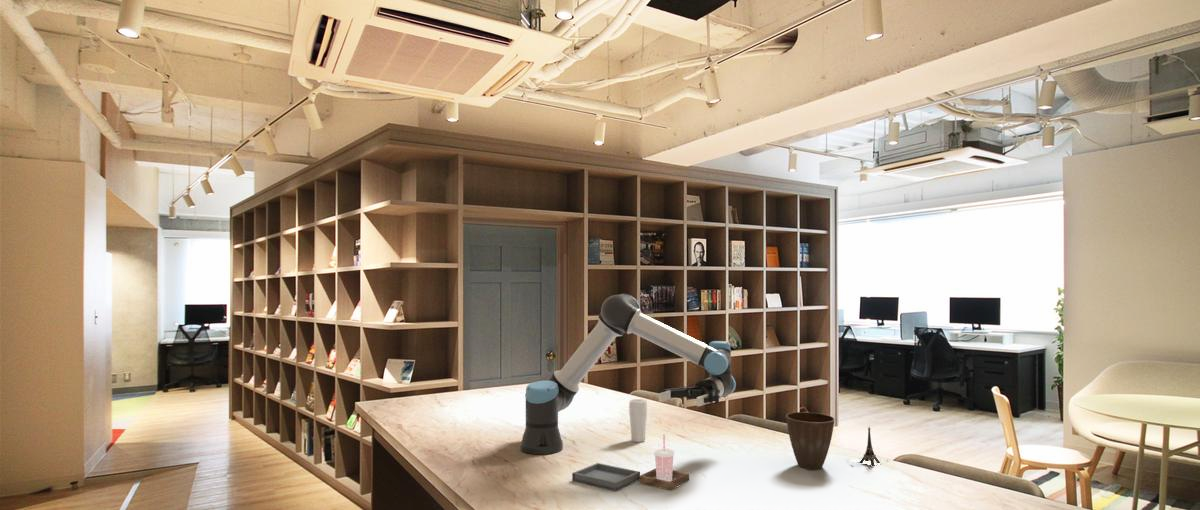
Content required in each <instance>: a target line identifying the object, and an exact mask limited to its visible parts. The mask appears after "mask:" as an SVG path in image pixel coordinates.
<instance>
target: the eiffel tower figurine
mask: <svg viewBox="0 0 1200 510" xmlns="http://www.w3.org/2000/svg"><path fill="white" fill-rule="evenodd" d="M867 430H868V431H867V432H868V433H867V446H866V450H865V453H864V454H863V456H862V458H861V459H862V460H861V461H860V462H858V464H859V463H863V461H864V460H865V461H871V465H872V466H875V465H874V462H876V463H881V462H880V460H878V459H879V458H877V455H876V454H875V452H874V450H873V446H872V437H871V428H870V426H868V427H867ZM874 459H875V461H874ZM886 462H889V460H888V459H887V461H886ZM872 466H871V467H872Z"/></svg>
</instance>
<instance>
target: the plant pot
mask: <svg viewBox="0 0 1200 510" xmlns="http://www.w3.org/2000/svg"><path fill="white" fill-rule="evenodd" d="M785 418H786V423H787V424H786V425H787V431H788V435H789V436H788V437H789V441H790V444H791V448H792V451H793V455H794V458H795V461H796V463H797V465H798V467H799V468H802V469H806V470H811V471H812V470H813V471H814V470H815V471H816V470H821V469H822V468H823V466H824V463H825V461H826V459H827V456H828V453H829V450H830V446H831V441H832V438H833V437H832V436H833V431H834V427H835V426H834V424H835V418H834V416H831V415H828V414H824V413H818V412H809V411H807V412H806V411H798V412H797V411H795V412H789V413H787V414H785Z"/></svg>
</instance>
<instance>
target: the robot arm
mask: <svg viewBox="0 0 1200 510" xmlns="http://www.w3.org/2000/svg"><path fill="white" fill-rule="evenodd" d="M597 319H598V321H597V323H596V325H595V326H594V327H593V329H592V330H591V331H590V332H589V334H588V335H587V336H586V337H585V339H584V340H583V341H582V343H580V345H579V346H578V348H577V349H576V350H575V351H574V353H573V354H572V355H571V356H570V357H569V359H568V360H567V362H565V364H564V366H563V367H562V368H561V369H560V370H555V371H554V372H553V373H552V375H550V376H549V378H548V379H547V380H537V381H532V382H531V383H529V384H527V386H526V388H525V394H524V395H525V396H524V397H525V428H524V431H523V435H522V438H521V441H520V451H521V452H523V453H525V454H530V455H549V454H555V453H559V452H561V451H562V450H563V449H564V442H563V439H562V436H561V432H560V429H559V412H561V411H563V410H565V409H566V408H568V407H569V406H570V405H571V404H572V402H573V400H574V397H575V396H576V395H577V393H578V392H579V390H580V388H579V387H580V386H579V384H580V383H581V381H582V380H583V379H584V378H585V377H586V375H587V374H588V373H589V371H590V370H592V368H593V367H594V365H595V364H596V363H597V361H598V360H599V359H600V358H601V356H602V355H603V354H604V353H605V352H606V350H607V349H608V348H609V346H610V345H611V344H612V343H613V342H614V340H615V339H616V338H617V337H622V336H624V335H625V334H628V335H630V334H634V335H636V336H638V337H640V338H642V339H644V340H646V341H648V342H650V343H653V344H655V345H657V346H659V347H660V348H663V349H664V350H666V351H669V352H671V353H673V354H675V355H677V356H679V357H681V358H683V359H685V360H687V361H689V362H691V363H693V364H696V365H697V366H699V367H701V368H703V369H705V370H706V371H707V372H708V374H709V377H707V378H704V379H701V380H699V381H697V382H696V383H695V385H694V386H690V387H689V386H688V387H687V386H681V387H673V388H672V387H671V388H664V389H663V388H662V392H659V393H658V403H663V402H665V401H670V400H672V398H673V399H676V398H677V399H678V398H686V399H694V400H696V407H698V408H699V407H701V406H705V405H707V404H712V403H715V404H719V403H720V399H721V398H723V397H728V396H729V395H730V394H732V393H733V392H734V391H735V390H736V388H737V387H736V386H737V382H736V380H735V378H734V377H733V375H732V366H731V365H732V360H731V359H732V358H731V357H732V355H731V353H732V350H731V343H730V342H729V341H726V340H725V341H724V340H713V341H710V342H709V343H708V344H706V343H705V342H702V341H700V340H698V339H695V338H694V337H692V336H690V335H687V334H685V333H683V332H682V331H679V330H677V329H675V328H673V327H671V326H669V325H667V324H666V323H665V324H664V323H663V322H661V321H659V320H656V319H654V318H653V317H652V316H651V317H650V316H649V315H646V314H644V313H643V312H642V310H641V306H640V304H639V302H638V300H637V299H636V298H635V297H633V295H630V294H627V293H621V294H614V295H611V296H608V297H607V298H605V300H604V301H603V303H602V304H601V307H600V313H599V314H598V316H597Z"/></svg>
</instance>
